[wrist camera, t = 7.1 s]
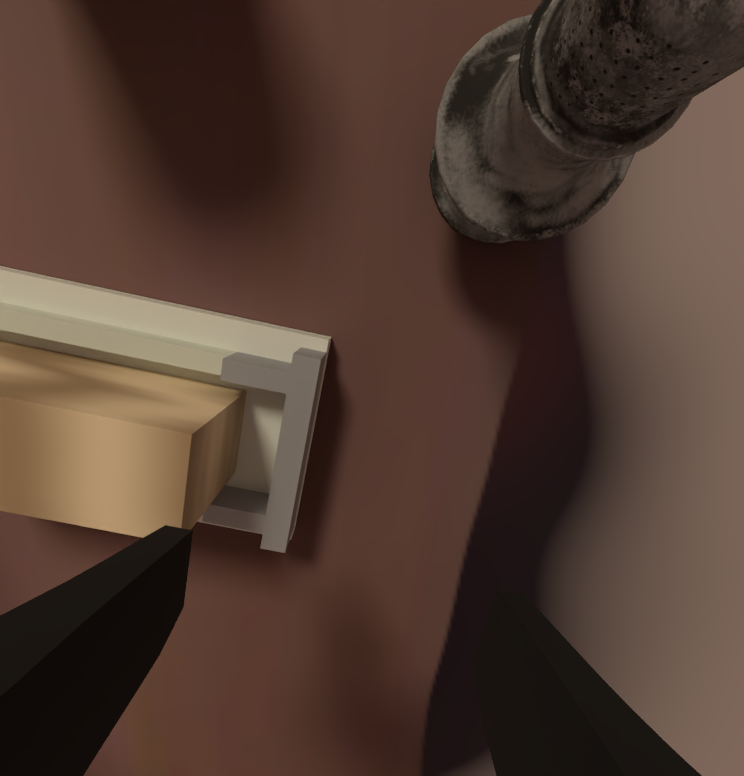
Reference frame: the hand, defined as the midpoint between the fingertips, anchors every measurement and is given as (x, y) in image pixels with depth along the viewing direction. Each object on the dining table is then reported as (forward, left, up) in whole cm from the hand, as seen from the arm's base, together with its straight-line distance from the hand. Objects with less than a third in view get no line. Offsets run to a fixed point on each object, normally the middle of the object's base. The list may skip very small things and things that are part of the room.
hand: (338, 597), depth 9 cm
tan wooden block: (-10, 0, -8) cm, 13 cm away
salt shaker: (+3, +12, -9) cm, 15 cm away
